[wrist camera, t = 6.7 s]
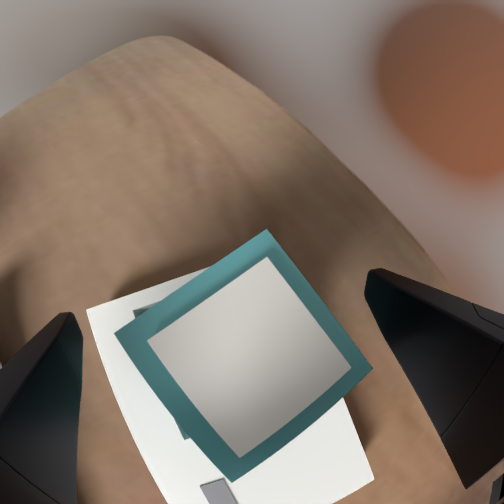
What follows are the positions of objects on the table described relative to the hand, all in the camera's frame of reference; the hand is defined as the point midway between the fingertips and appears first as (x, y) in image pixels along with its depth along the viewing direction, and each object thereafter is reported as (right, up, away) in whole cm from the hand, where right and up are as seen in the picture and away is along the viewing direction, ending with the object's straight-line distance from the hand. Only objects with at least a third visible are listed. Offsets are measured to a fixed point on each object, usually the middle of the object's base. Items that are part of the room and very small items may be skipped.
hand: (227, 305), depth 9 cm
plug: (-1, -4, +7) cm, 8 cm away
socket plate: (0, -7, +7) cm, 9 cm away
